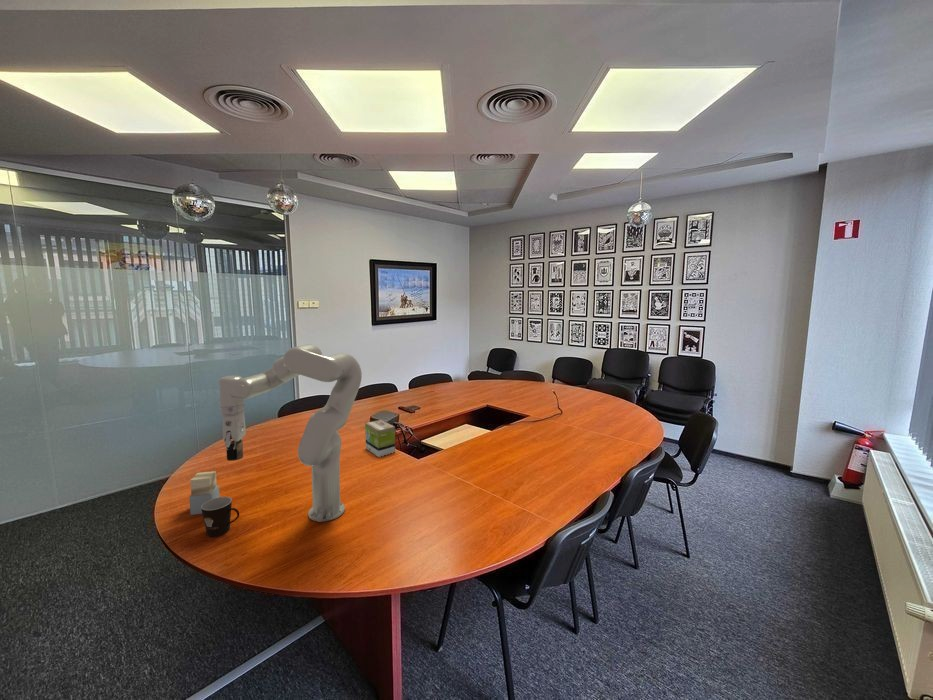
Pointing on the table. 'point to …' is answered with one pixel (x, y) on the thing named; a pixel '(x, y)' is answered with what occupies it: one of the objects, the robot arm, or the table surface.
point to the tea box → (380, 437)
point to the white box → (201, 501)
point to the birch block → (203, 483)
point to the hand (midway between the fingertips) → (235, 455)
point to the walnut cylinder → (239, 450)
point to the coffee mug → (217, 515)
